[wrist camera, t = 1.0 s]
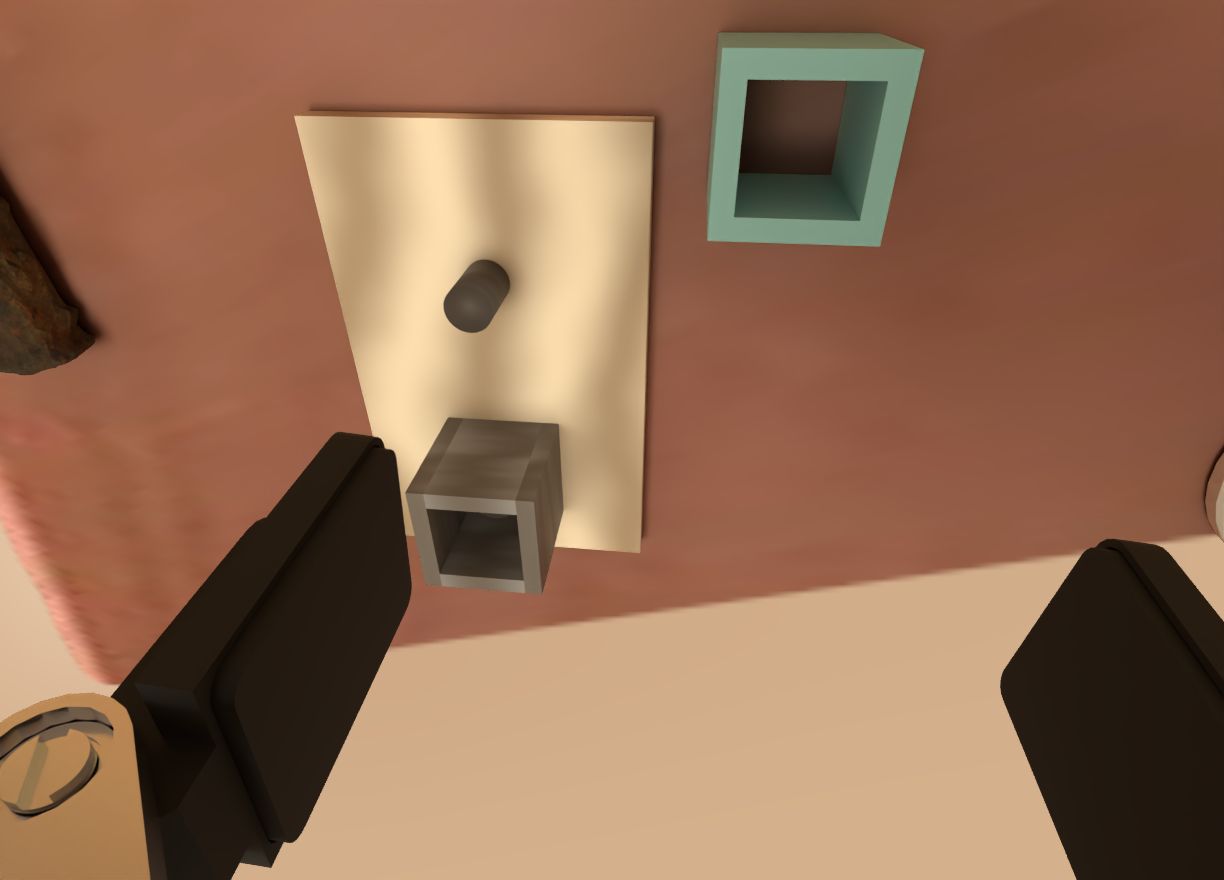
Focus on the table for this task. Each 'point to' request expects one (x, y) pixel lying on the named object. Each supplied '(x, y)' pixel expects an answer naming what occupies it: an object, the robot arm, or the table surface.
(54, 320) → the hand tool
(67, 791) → the robot arm
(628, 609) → the table surface
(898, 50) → the teal wall cubby
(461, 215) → the seat plate
